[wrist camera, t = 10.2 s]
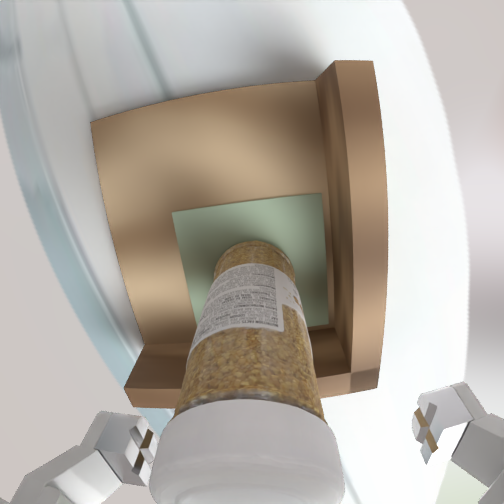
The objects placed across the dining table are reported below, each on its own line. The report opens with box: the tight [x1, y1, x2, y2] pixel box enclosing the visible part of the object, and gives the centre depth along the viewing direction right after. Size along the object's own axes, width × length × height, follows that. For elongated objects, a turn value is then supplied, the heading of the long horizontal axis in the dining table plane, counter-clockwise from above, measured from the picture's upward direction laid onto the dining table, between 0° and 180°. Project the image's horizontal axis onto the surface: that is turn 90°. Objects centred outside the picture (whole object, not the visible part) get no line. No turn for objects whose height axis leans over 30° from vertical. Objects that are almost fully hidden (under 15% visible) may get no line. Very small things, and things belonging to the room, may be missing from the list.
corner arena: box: [90, 60, 388, 408], centre depth 16 cm, size 16×14×5 cm
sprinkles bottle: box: [149, 240, 345, 504], centre depth 12 cm, size 5×5×13 cm
